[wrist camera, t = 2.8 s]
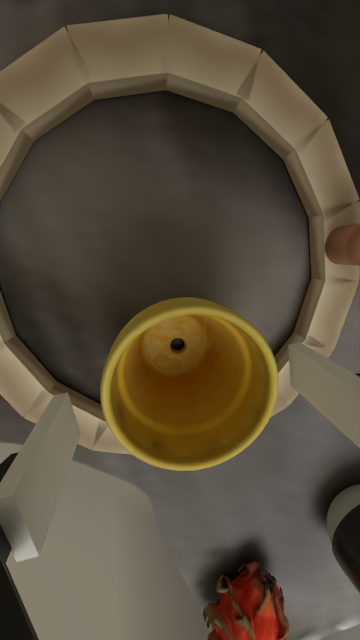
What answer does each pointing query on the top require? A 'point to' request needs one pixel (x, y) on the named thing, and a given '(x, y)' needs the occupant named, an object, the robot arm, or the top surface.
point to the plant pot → (188, 385)
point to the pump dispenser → (346, 532)
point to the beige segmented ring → (208, 87)
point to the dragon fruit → (247, 607)
